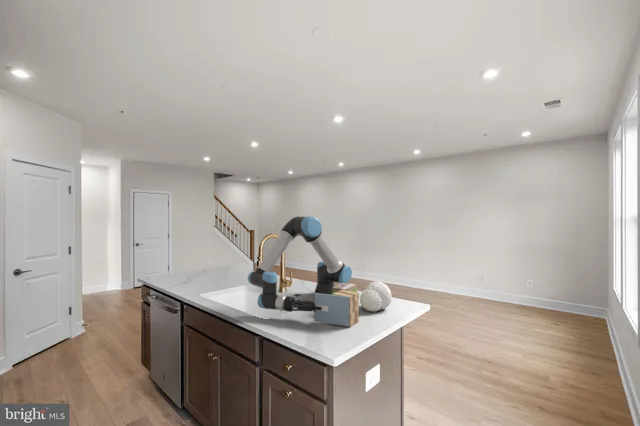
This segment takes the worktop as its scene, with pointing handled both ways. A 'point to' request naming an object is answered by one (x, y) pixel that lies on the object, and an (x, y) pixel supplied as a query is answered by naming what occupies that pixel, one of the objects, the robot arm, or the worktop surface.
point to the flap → (332, 309)
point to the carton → (351, 305)
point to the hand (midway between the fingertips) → (328, 308)
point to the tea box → (344, 287)
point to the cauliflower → (376, 297)
